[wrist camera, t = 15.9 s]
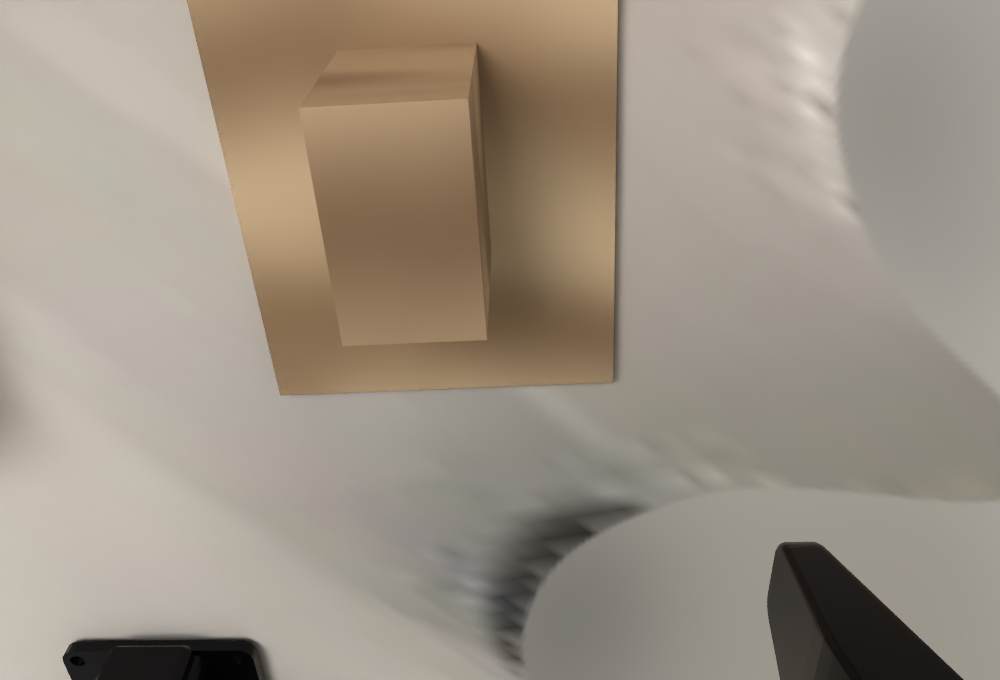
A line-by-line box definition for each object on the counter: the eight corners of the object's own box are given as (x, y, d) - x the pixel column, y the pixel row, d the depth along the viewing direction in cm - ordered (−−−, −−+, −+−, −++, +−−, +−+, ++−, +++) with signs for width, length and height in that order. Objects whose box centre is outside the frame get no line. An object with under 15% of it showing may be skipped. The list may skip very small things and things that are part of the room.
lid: (609, 361, 24) (629, 482, 20) (288, 374, 25) (241, 496, 20) (616, -381, 16) (654, -444, 11) (125, -343, 16) (-14, -390, 12)
